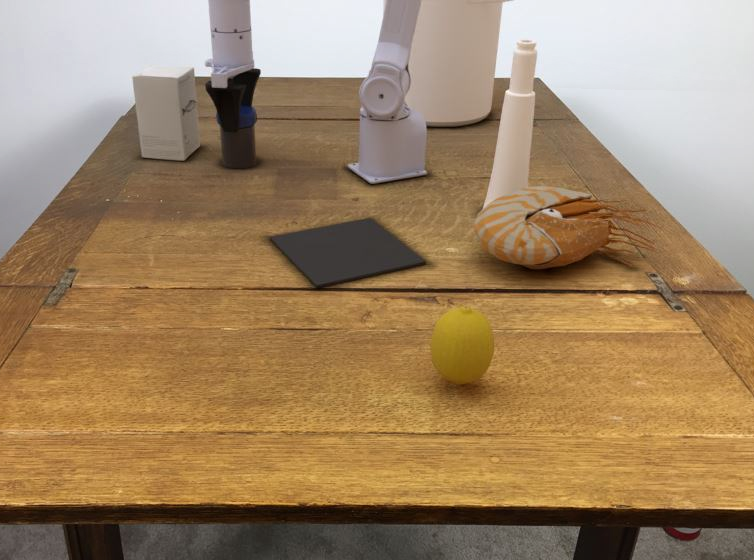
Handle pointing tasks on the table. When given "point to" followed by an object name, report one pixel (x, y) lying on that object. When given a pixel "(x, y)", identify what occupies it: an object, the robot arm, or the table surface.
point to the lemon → (462, 345)
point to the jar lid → (245, 116)
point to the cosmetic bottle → (515, 126)
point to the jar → (238, 147)
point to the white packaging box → (167, 112)
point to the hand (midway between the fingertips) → (236, 125)
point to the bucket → (454, 60)
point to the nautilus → (548, 227)
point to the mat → (346, 252)
